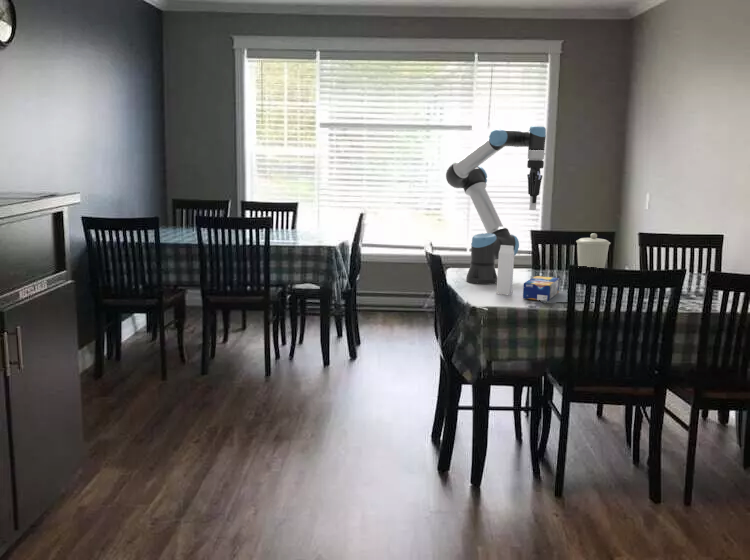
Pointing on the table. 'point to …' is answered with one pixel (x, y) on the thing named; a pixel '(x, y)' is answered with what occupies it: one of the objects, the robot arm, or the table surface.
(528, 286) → the beverage box
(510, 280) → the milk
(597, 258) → the canister
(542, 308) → the table surface
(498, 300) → the table surface
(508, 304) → the table surface
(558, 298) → the mat
